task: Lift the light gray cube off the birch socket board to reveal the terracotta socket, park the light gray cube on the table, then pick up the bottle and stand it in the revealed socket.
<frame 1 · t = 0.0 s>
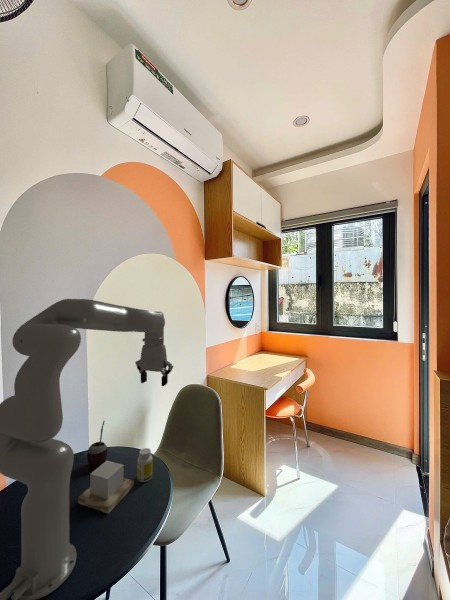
hand: (153, 383, 104), 31 cm above the table, fingers open, 9 cm apart
supplement bottle: (144, 478, 94), on the table
mate gourd: (97, 464, 101), on the table
socket board: (107, 494, 86), on the table
light gray cube: (107, 488, 86), point 2 cm above the table, touching socket board
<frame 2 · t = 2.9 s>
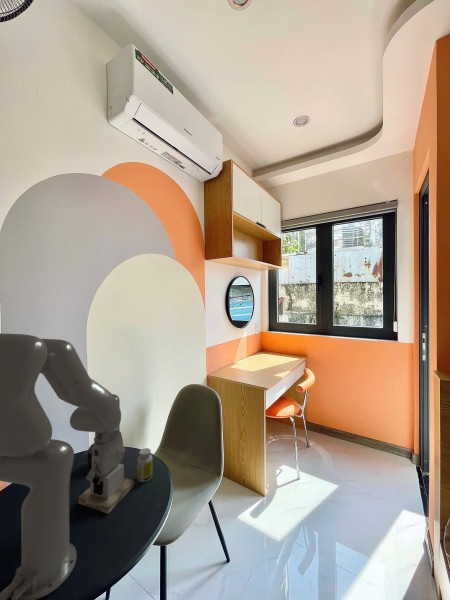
hand: (107, 484, 86), 3 cm above the table, fingers closed on light gray cube, 7 cm apart
light gray cube: (107, 488, 86), point 2 cm above the table, touching gripper, socket board
everything else where it was.
when the fingers open (2 cm above the table, at t = 8.8 s): light gray cube drops 1 cm, on the table.
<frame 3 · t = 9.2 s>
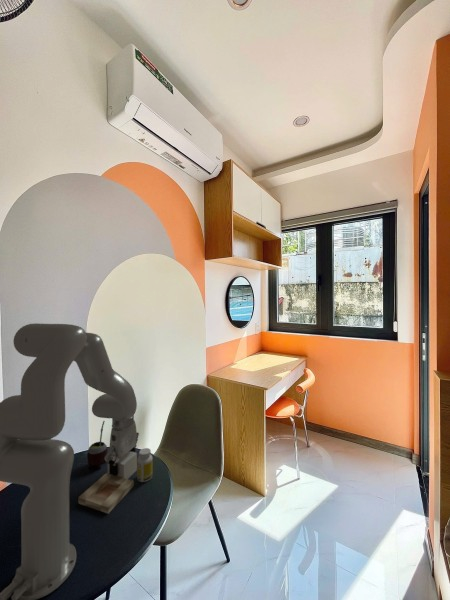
hand: (122, 465, 96), 3 cm above the table, fingers open, 9 cm apart
light gray cube: (122, 473, 96), on the table
everything else where it was.
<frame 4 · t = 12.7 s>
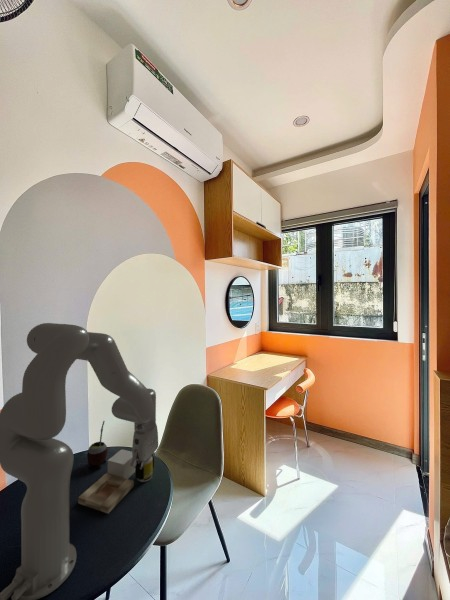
hand: (144, 472, 94), 2 cm above the table, fingers closed on supplement bottle, 5 cm apart
supplement bottle: (144, 477, 94), on the table, touching gripper
everything else where it was.
when the fingers open (3 cm above the table, at t = 18.3 s): supplement bottle drops 1 cm, resting on socket board.
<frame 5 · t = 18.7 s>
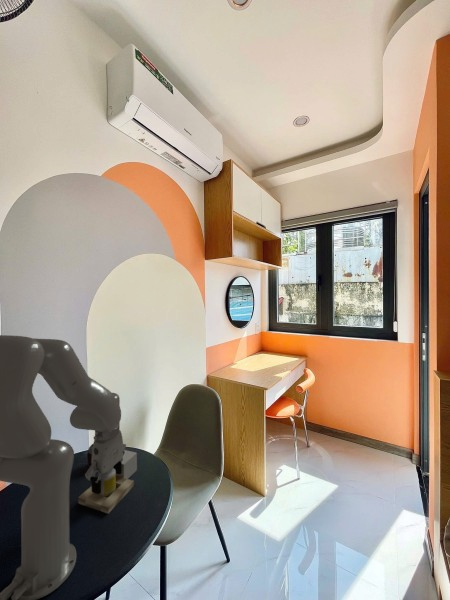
hand: (107, 482, 86), 4 cm above the table, fingers open, 9 cm apart
supplement bottle: (106, 494, 86), resting on socket board
light gray cube: (122, 473, 96), on the table, touching gripper
everything else where it was.
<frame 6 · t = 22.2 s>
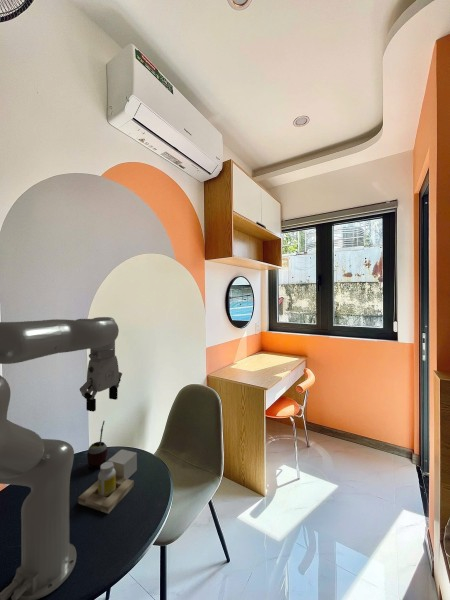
hand: (102, 404, 86), 30 cm above the table, fingers open, 9 cm apart
light gray cube: (122, 473, 96), on the table
everything else where it was.
at the end: supplement bottle 0.2 cm off-centre on the socket board, point 0.1 cm above the socket board's base; supplement bottle tilted 0°; light gray cube moved 10.2 cm from its start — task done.
